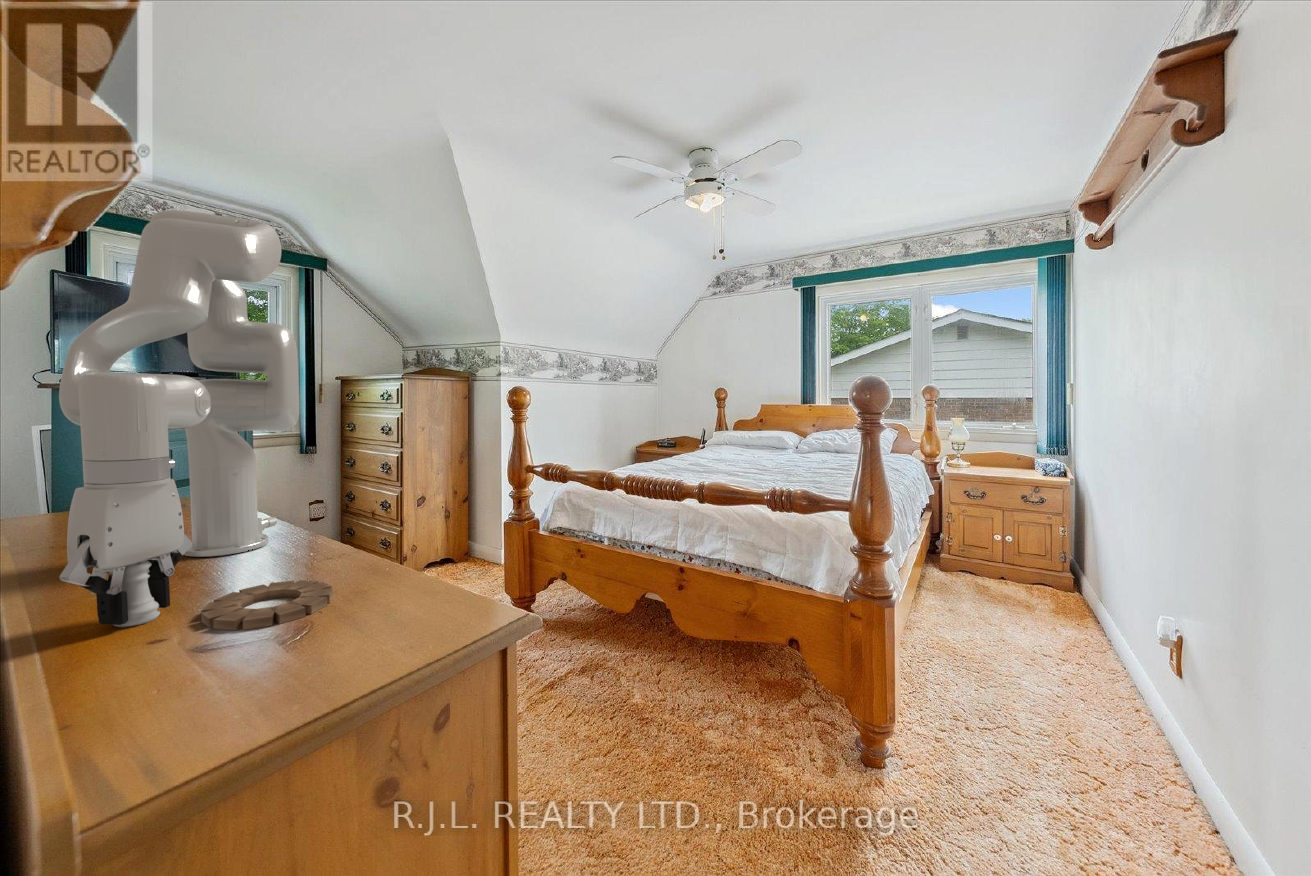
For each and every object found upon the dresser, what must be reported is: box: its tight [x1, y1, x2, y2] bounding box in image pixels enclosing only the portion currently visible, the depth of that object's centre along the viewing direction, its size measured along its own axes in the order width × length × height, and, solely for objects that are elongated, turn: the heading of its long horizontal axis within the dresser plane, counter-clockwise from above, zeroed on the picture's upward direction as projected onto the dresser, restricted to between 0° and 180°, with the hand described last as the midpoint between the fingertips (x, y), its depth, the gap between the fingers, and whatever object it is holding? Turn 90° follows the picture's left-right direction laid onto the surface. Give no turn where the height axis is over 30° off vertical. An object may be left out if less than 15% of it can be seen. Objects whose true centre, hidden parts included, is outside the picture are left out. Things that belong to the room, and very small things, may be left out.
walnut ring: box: [200, 579, 334, 631], centre depth 70 cm, size 14×14×1 cm
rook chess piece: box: [113, 560, 161, 628], centre depth 64 cm, size 4×4×8 cm
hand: (135, 613), depth 65 cm, fingers closed on rook chess piece, 4 cm apart
